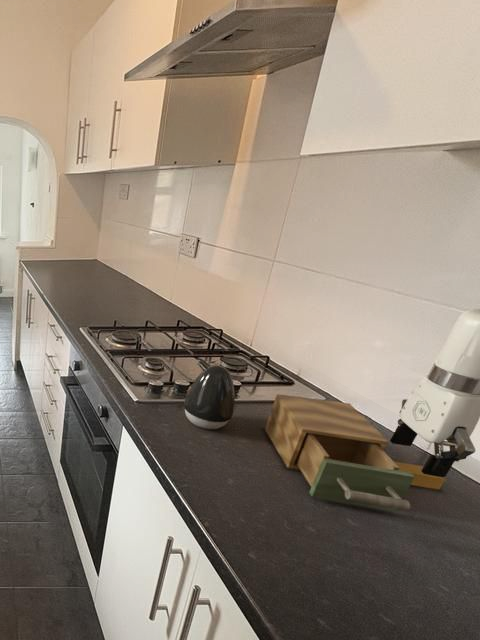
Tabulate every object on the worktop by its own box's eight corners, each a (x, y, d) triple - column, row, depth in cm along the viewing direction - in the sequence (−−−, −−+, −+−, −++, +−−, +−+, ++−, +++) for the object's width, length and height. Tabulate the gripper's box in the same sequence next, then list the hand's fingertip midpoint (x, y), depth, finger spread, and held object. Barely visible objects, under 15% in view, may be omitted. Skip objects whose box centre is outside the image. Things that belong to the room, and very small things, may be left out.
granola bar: (427, 478, 82) (433, 467, 81) (439, 489, 79) (445, 478, 78) (377, 470, 84) (383, 459, 83) (387, 480, 81) (393, 470, 80)
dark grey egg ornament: (201, 408, 106) (216, 354, 100) (238, 430, 97) (256, 372, 91) (170, 415, 103) (183, 360, 97) (205, 439, 94) (221, 379, 88)
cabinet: (368, 482, 81) (388, 441, 77) (287, 468, 85) (302, 428, 81) (334, 440, 93) (349, 403, 90) (264, 429, 97) (276, 393, 93)
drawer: (413, 534, 68) (435, 497, 65) (323, 516, 71) (340, 480, 68) (356, 464, 84) (370, 432, 81) (285, 453, 88) (296, 422, 85)
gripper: (403, 357, 81) (367, 430, 88) (469, 399, 66) (420, 483, 73) (451, 363, 79) (411, 437, 86) (531, 408, 64) (474, 493, 71)
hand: (415, 458), depth 80 cm, fingers open, 9 cm apart
